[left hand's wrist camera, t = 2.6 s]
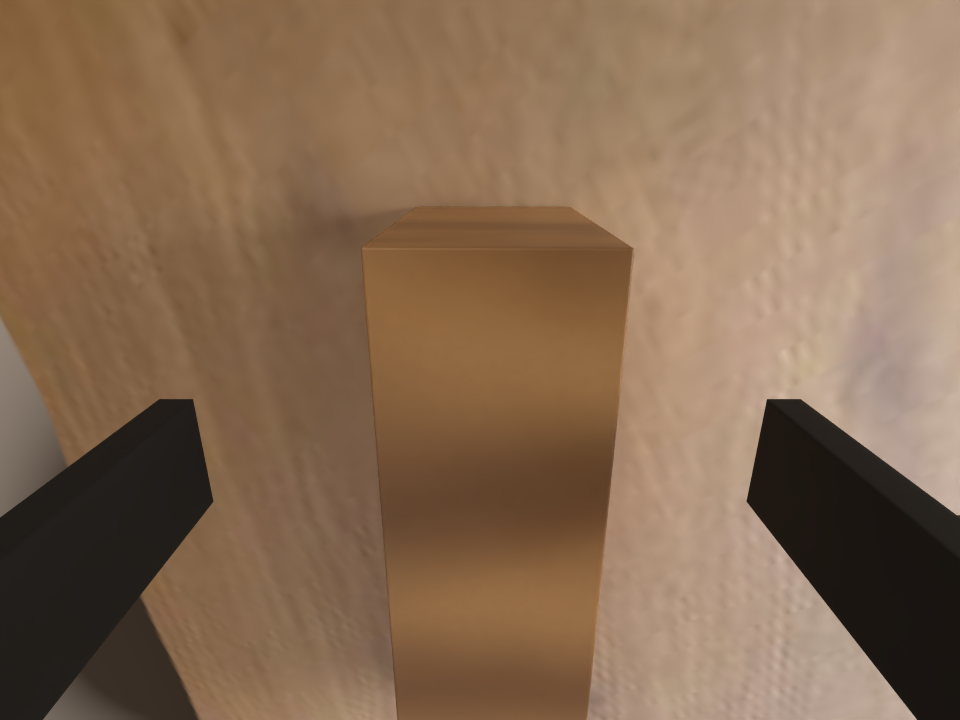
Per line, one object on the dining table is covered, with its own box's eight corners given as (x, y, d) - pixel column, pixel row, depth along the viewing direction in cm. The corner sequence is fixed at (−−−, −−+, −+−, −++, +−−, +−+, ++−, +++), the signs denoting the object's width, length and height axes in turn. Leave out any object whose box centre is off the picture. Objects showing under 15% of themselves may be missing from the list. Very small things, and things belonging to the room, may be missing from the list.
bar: (416, 206, 21) (360, 247, 12) (571, 206, 21) (635, 247, 12) (434, 662, 29) (410, 889, 20) (544, 663, 29) (570, 892, 20)
